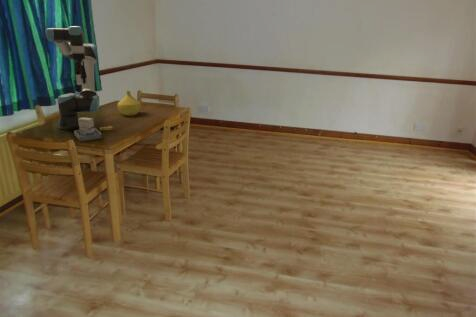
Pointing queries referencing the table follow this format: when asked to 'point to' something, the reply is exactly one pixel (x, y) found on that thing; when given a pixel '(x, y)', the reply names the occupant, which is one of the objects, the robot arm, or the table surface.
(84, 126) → the ink box
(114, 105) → the table surface
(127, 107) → the yellow rounded bulb
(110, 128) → the puller tool
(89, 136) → the tray
